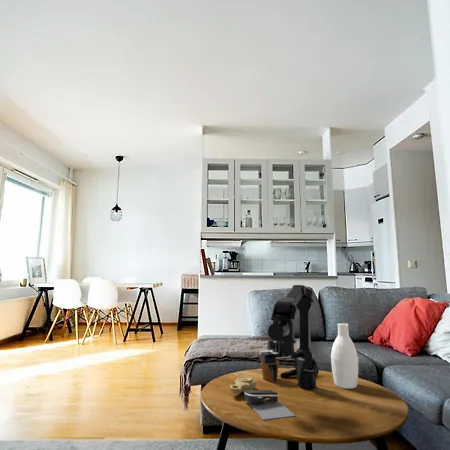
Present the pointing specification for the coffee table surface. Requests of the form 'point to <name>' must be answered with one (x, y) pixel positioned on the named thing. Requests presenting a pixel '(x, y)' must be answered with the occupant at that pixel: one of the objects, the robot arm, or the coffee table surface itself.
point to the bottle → (344, 359)
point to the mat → (271, 410)
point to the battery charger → (260, 396)
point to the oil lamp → (243, 384)
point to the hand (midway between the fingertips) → (286, 381)
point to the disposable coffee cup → (265, 368)
